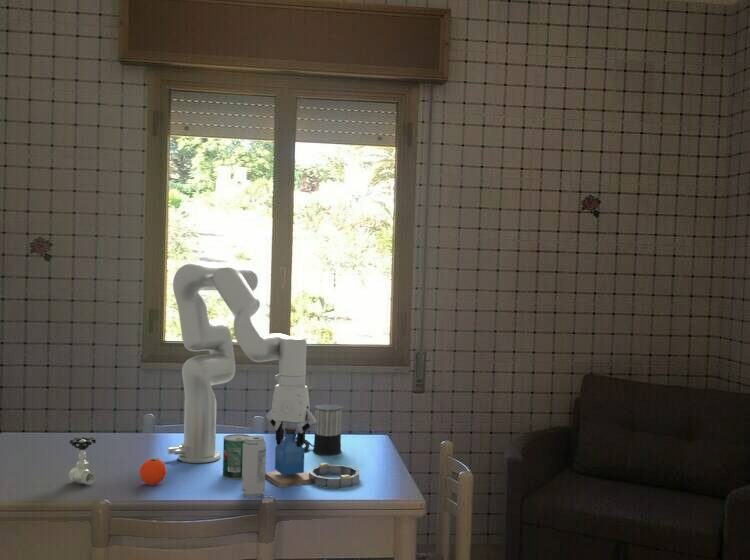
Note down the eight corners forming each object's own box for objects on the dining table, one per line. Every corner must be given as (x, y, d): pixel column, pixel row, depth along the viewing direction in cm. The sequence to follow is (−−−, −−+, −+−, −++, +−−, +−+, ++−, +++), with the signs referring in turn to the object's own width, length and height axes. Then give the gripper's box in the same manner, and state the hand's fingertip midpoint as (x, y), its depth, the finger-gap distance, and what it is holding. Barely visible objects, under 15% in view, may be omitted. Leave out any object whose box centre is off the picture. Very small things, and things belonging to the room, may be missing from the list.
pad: (279, 487, 203) (279, 483, 203) (264, 476, 213) (264, 472, 213) (315, 482, 209) (315, 478, 209) (299, 472, 218) (299, 468, 218)
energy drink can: (247, 489, 200) (249, 434, 200) (268, 492, 199) (269, 436, 198) (237, 496, 195) (238, 439, 194) (258, 499, 193) (260, 441, 192)
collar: (323, 490, 201) (323, 479, 201) (301, 476, 214) (301, 466, 213) (368, 484, 208) (368, 473, 208) (344, 471, 221) (344, 460, 221)
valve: (79, 489, 197) (80, 443, 197) (63, 484, 200) (64, 440, 200) (100, 483, 202) (101, 439, 202) (84, 478, 206) (85, 435, 206)
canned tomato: (220, 472, 215) (220, 435, 215) (246, 470, 218) (247, 433, 218) (225, 480, 208) (226, 441, 208) (253, 478, 211) (254, 439, 211)
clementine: (145, 479, 207) (146, 453, 207) (170, 480, 207) (170, 454, 207) (135, 487, 199) (136, 461, 199) (161, 488, 199) (161, 462, 199)
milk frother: (346, 453, 241) (348, 407, 240) (303, 459, 232) (304, 412, 232) (325, 443, 253) (326, 400, 252) (282, 449, 244) (284, 404, 244)
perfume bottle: (282, 474, 206) (284, 431, 206) (274, 469, 212) (276, 427, 212) (303, 472, 209) (305, 430, 209) (295, 466, 215) (296, 425, 214)
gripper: (258, 380, 209) (256, 444, 210) (314, 385, 204) (312, 451, 204) (270, 376, 216) (269, 438, 217) (325, 381, 211) (323, 445, 211)
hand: (290, 444), depth 210 cm, fingers closed on perfume bottle, 5 cm apart
